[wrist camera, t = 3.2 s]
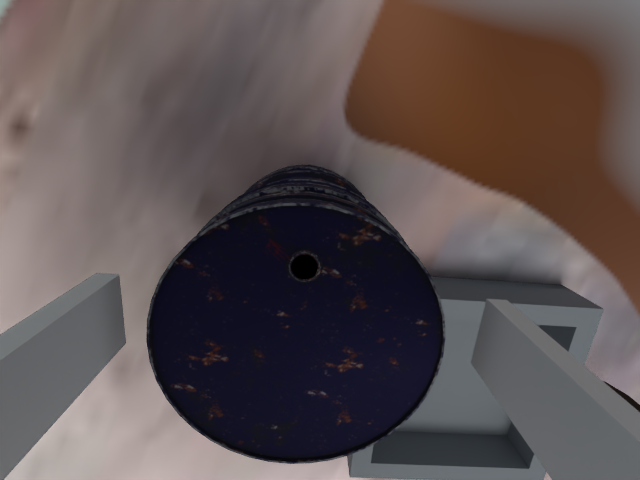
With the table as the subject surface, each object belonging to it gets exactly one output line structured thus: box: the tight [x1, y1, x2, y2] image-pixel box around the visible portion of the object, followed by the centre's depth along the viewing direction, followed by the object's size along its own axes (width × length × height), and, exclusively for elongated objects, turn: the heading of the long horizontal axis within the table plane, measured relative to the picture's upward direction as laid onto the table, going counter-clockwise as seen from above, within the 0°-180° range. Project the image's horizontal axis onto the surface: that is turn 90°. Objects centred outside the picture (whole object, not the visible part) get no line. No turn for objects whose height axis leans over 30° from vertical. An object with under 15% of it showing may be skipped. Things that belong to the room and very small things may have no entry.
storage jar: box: [147, 165, 446, 464], centre depth 18 cm, size 10×10×15 cm
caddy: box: [347, 277, 604, 480], centre depth 27 cm, size 16×16×4 cm
